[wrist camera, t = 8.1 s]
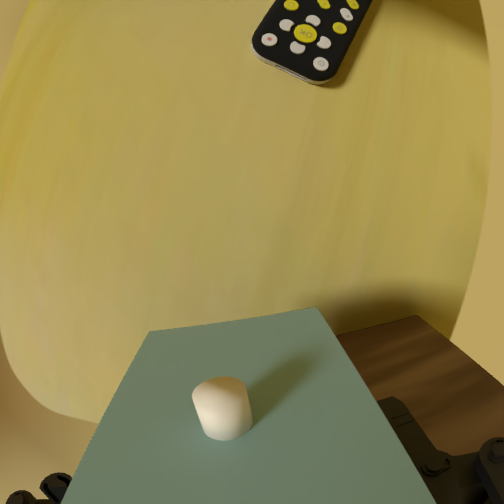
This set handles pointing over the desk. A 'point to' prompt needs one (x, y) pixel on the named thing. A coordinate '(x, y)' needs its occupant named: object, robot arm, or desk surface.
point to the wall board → (430, 382)
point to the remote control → (308, 36)
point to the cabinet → (245, 423)
